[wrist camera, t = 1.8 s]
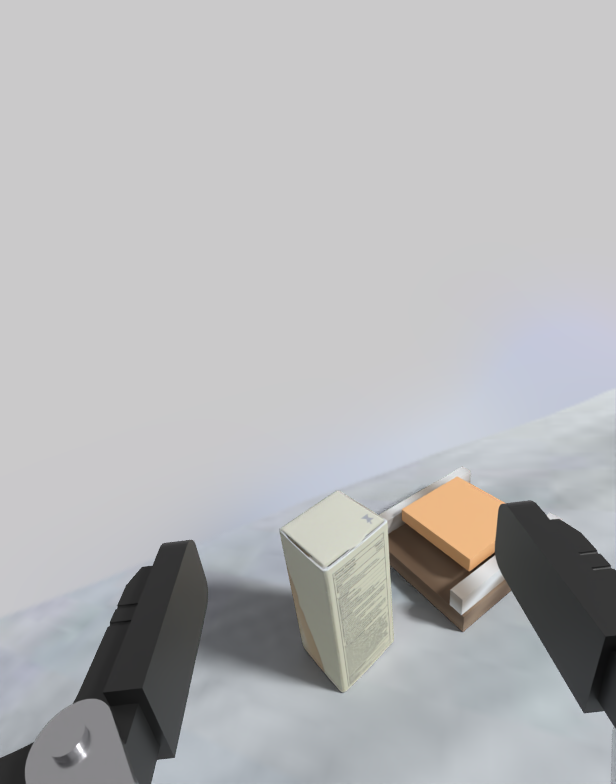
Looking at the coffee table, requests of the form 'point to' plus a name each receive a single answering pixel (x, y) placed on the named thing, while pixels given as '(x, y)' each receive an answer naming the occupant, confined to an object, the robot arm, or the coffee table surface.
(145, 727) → the robot arm
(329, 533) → the box
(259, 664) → the coffee table surface
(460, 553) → the plate
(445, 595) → the rail board
